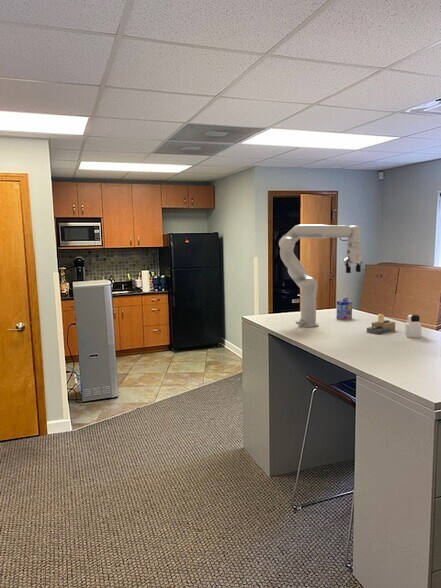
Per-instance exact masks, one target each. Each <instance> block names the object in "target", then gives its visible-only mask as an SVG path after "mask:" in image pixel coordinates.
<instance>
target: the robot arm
mask: <svg viewBox="0 0 441 588" xmlns="http://www.w3.org/2000/svg"><path fill="white" fill-rule="evenodd" d="M329 238H330V239H334V238H340V239H343V238H347V241H346V243H347V244H346V245H347V248H346V253H345V254H346V255H345V258H344V259H343V263H344V265H345V273H346V274H350V273H352V272H351V270H352V268H351V265H352V264H355V272H356V273H361V271H362V270H361V269H362V268H361V267H362V263H363V260H364V258H363V257H362V249H361V243H360V242H361V226H359V225H349V226H348V225H344V224H343V225H337V224H336V225H335V224H333V225H332V224H329V225H328V224H296V225H294V226H293V227H292V228H291V229H290V230H289V231H288V232H287V233H285V234H284V235H282V237H281V238H279V240H278V246H279V248H280V249H279V255H280V259H281V261H282V262H283V264H284V266H285V267H286V268H287V273H288V275H289V277H290V278H291V279H292V281H293V282H294V283H295V284H296V286H298V288H299V289H300V291H301V292H300V318H299V320H295V324H296V325H298V326H299V327H301V328H315V327H318V326H320V325H319V323H318V322H317V289H318V283H317V280H316V279H315V278H314V277H312V276H309V275H308V273H307V272H306V267H305V266H304V265H303V264H302V262H300V260H299V259H298V257H297V256H296V254H295V253H294V248H295V246H296V243H297V242H298V241H299V240H301V239H329Z"/></svg>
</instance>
